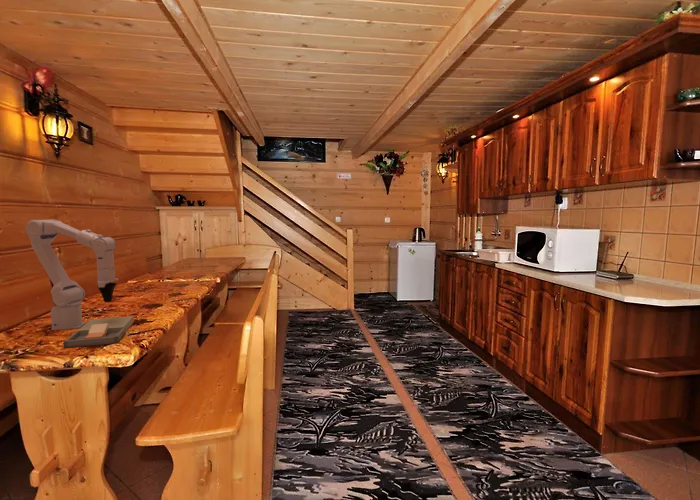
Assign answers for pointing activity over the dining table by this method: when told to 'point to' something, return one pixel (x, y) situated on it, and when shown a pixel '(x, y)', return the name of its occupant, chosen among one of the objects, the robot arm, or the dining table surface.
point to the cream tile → (99, 328)
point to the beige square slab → (113, 324)
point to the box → (93, 339)
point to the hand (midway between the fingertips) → (108, 301)
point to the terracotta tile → (96, 335)
